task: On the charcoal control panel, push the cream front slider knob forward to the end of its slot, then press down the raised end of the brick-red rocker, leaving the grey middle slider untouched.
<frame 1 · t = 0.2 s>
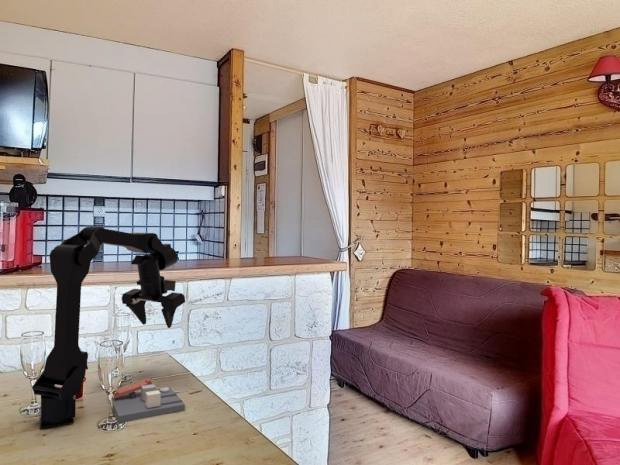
hand: (157, 325, 136), 15 cm above the table, tool pointing down, fingers open, 9 cm apart
rocker: (132, 387, 116), point 4 cm above the table, hinge at -12.0°
panel: (146, 406, 114), on the table
middle slider: (148, 392, 114), point 3 cm above the table, slide at 0.0 cm
front slider: (152, 399, 110), point 3 cm above the table, slide at 0.0 cm
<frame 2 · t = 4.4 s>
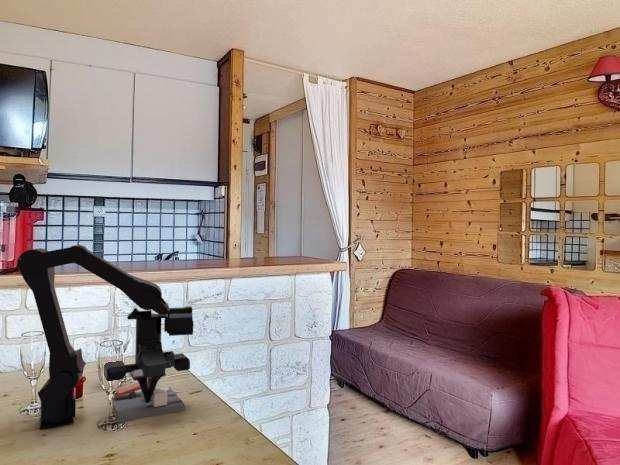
hand: (147, 402, 109), 3 cm above the table, tool pointing down, fingers closed
front slider: (159, 397, 111), point 3 cm above the table, slide at 1.6 cm, touching gripper
everything else where it was.
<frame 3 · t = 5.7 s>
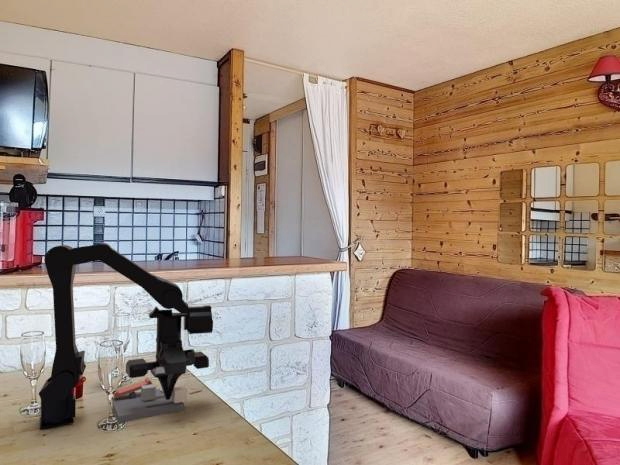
hand: (167, 399, 112), 3 cm above the table, tool pointing down, fingers closed
front slider: (179, 394, 113), point 3 cm above the table, slide at 6.4 cm, touching gripper
everything else where it was.
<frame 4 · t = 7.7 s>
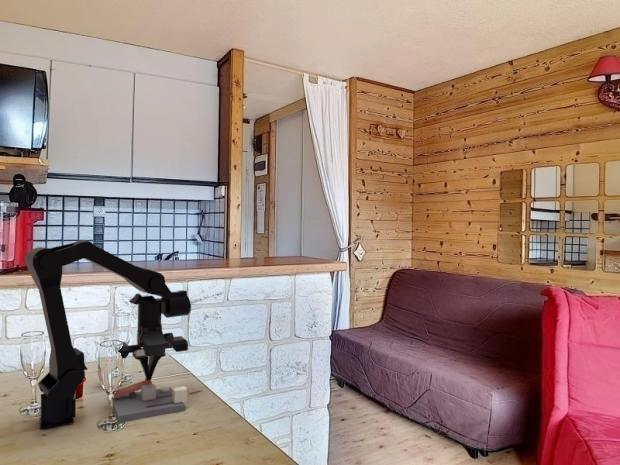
hand: (148, 380, 118), 5 cm above the table, tool pointing down, fingers closed, pressing on rocker
rocker: (132, 387, 116), point 4 cm above the table, hinge at -12.0°, touching gripper
front slider: (179, 394, 113), point 3 cm above the table, slide at 6.4 cm
everything else where it was.
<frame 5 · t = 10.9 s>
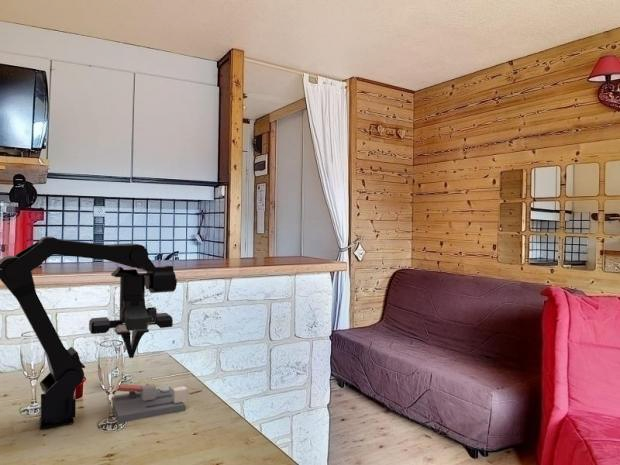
hand: (131, 357, 114), 12 cm above the table, tool pointing down, fingers closed
rocker: (132, 387, 116), point 4 cm above the table, hinge at 12.1°
everything else where it was.
at the end: front slider slide at 6.4 cm; rocker at +12° (first picture: -12°); middle slider slide at 0.0 cm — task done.
